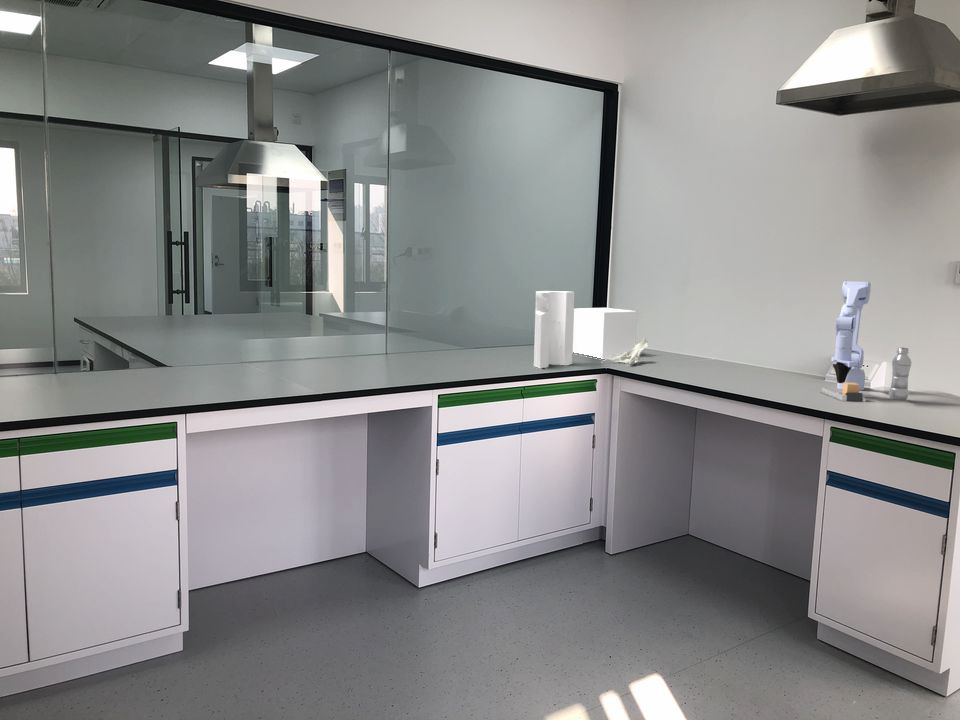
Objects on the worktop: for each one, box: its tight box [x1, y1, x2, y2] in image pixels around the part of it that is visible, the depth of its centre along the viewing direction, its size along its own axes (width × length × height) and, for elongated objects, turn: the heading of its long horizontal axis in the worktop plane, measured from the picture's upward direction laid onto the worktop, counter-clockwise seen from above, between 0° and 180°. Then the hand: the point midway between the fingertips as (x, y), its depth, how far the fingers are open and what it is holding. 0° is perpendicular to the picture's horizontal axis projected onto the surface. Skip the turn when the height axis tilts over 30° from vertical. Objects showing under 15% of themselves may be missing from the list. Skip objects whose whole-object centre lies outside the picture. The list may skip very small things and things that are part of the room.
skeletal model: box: [600, 337, 649, 368], centre depth 373 cm, size 16×9×25 cm
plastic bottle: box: [888, 347, 912, 401], centre depth 289 cm, size 6×7×20 cm
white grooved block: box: [533, 290, 575, 368], centre depth 359 cm, size 35×11×21 cm
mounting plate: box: [819, 387, 867, 403], centre depth 291 cm, size 10×18×4 cm, turn 0°
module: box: [841, 382, 860, 395], centre depth 285 cm, size 4×4×6 cm
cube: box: [572, 307, 638, 360], centre depth 401 cm, size 25×21×24 cm
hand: (840, 382), depth 293 cm, fingers closed
